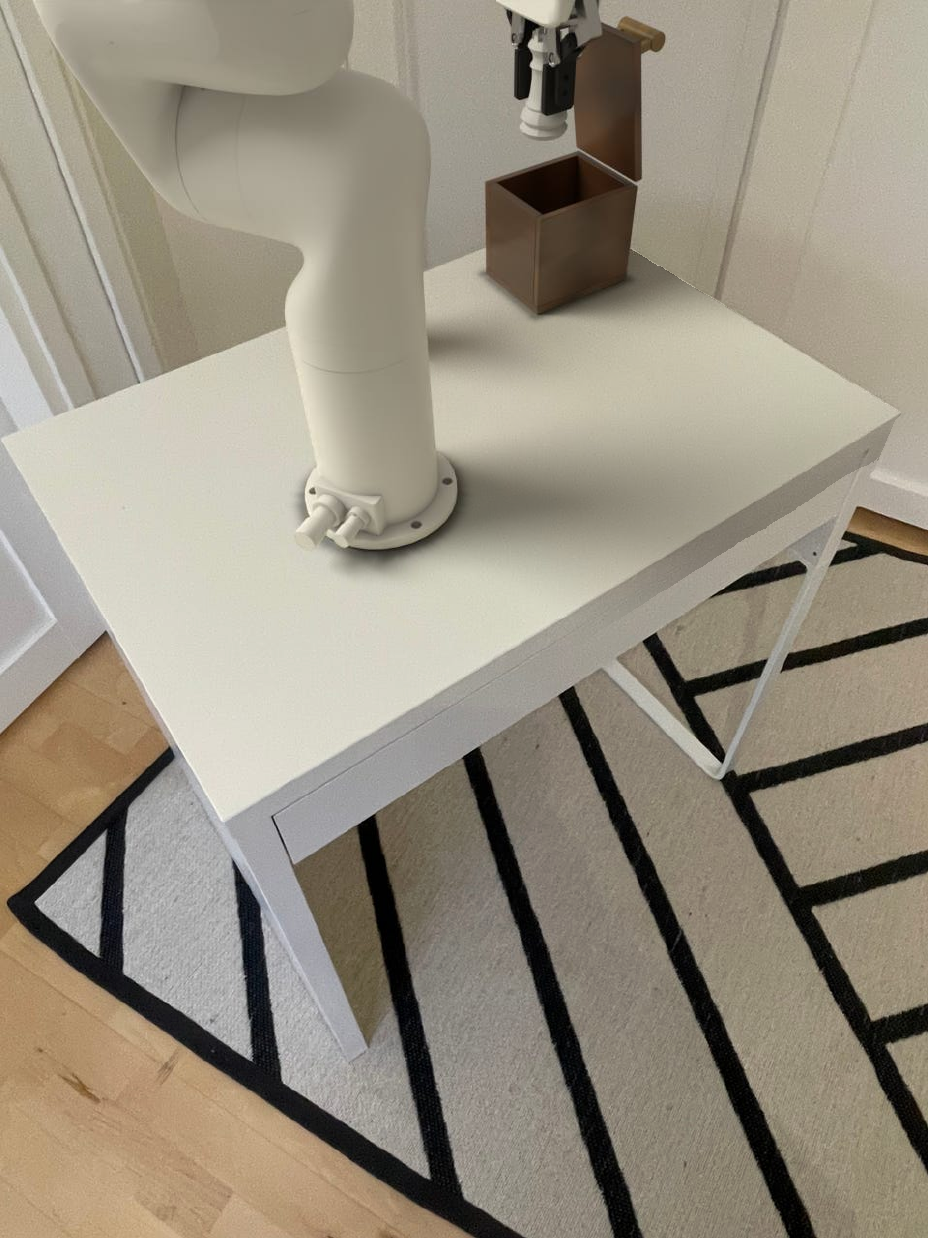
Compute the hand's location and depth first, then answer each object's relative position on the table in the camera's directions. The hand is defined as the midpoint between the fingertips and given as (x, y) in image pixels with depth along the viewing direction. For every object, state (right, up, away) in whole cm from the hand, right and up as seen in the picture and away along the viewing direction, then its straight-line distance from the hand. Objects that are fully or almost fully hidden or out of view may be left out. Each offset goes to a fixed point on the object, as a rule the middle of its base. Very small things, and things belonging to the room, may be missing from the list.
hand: (543, 101), depth 77 cm
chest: (+3, -10, +15) cm, 18 cm away
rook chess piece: (0, -2, +2) cm, 3 cm away
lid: (+6, +2, +3) cm, 7 cm away
